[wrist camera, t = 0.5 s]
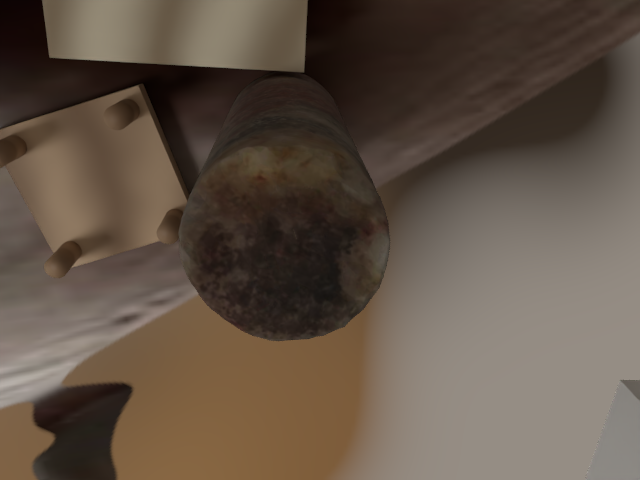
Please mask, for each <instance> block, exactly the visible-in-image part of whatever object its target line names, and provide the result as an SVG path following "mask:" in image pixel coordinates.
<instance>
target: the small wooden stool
mask: <svg viewBox="0 0 640 480" xmlns="http://www.w3.org/2000/svg"><path fill="white" fill-rule="evenodd" d="M42 2H43V10H44V18H45V26H46V34H47V42H48V49H49V57H50V58H64V59H81V60H98V61H116V62H133V63H150V64H167V65H185V66H202V67H219V68H237V69H254V70H271V71H288V72H304V65H305V44H306V24H307V3H308V0H42Z"/></svg>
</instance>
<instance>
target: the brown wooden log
mask: <svg viewBox="0 0 640 480" xmlns="http://www.w3.org/2000/svg"><path fill="white" fill-rule="evenodd" d="M178 234H179V251H180V258H181V261H182V264H183V267H184V269H185V272H186V274H187V276H188V278H189V280H190V282H191V283H192V285H193V286H194V287H195V289H196V290H197V292H198V293H199V295H200V297H201V298H202V299H203V301H204V302H205V303H206V304H207V305H208V306H209V307H210V308H211V309H212V310H213V311H215V312H216V313H217V314H219V315H220V316H221V317H222V318H224V319H225V320H226V321H228V322H230V323H231V324H233V325H234V326H236V327H237V328H239V329H240V330H242V331H244V332H246V333H248V334H250V335H252V336H256V337H260V338H264V339H267V340H271V341H284V340H299V339H310V338H313V337H316V336H324V335H326V334H328V333H330V332H332V331H334V330H337V329H339V328H342V327H345V326H346V324H347V323H348V322H349V321H350V320H351V319H352V318H353V317H355V316H356V315H357V314H359V313H360V312H361V311H362V310H363V309H364V308H365V306H366V305H367V304H368V302H369V301H370V299H371V298H372V297H373V295H374V294H375V293H376V291H377V290H378V289H379V287H380V284H381V281H382V279H383V276H384V272H385V269H386V266H387V261H388V255H389V250H390V237H389V226H388V220H387V217H386V213H385V209H384V206H383V204H382V201H381V198H380V196H379V195H378V193H377V191H376V189H375V186H374V184H373V181H372V179H371V177H370V175H369V173H368V172H367V170H366V167H365V165H364V163H363V161H362V159H361V157H360V155H359V153H358V151H357V149H356V147H355V144H354V142H353V140H352V138H351V136H350V134H349V132H348V130H347V128H346V126H345V123H344V121H343V119H342V116H341V114H340V112H339V109H338V107H337V105H336V103H335V102H334V99H333V98H332V96H331V95H330V94H329V93H328V91H327V90H326V89H325V88H324V87H323V86H322V85H321V84H319V83H318V82H317V81H315V80H314V79H312V78H311V77H309V76H307V75H305V74H301V73H297V72H288V71H282V72H273V73H269V74H267V75H264V76H262V77H260V78H258V79H256V80H254V81H253V82H252V83H250V84H249V85H248V86H247V87H245V88H244V89H243V90H242V91H241V93H240V94H239V95H238V96H237V98H236V100H235V101H234V103H233V105H232V107H231V109H230V111H229V113H228V115H227V117H226V119H225V122H224V124H223V126H222V129H221V131H220V133H219V135H218V138H217V140H216V142H215V144H214V145H213V147H212V150H211V152H210V154H209V156H208V159H207V161H206V163H205V165H204V167H203V169H202V171H201V173H200V175H199V177H198V179H197V181H196V183H195V185H194V187H193V189H192V191H191V193H190V196H189V198H188V201H187V204H186V207H185V210H184V213H183V216H182V218H181V223H180V228H179V233H178Z"/></svg>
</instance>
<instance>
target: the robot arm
mask: <svg viewBox="0 0 640 480" xmlns="http://www.w3.org/2000/svg"><path fill="white" fill-rule="evenodd" d="M586 479H587V480H640V380H620V382H619V385H618V388H617V391H616V393H615V396H614V399H613V402H612V404H611V408H610V410H609V413H608V416H607V419H606V421H605V424H604V427H603V430H602V433H601V436H600V439H599V441H598V444H597V447H596V450H595V453H594V455H593V458H592V461H591V464H590V467H589V470H588V473H587V475H586Z"/></svg>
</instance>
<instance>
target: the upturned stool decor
mask: <svg viewBox="0 0 640 480" xmlns="http://www.w3.org/2000/svg"><path fill="white" fill-rule="evenodd" d="M3 166H6V168H7V170H8V172H9V174H10V175H11V177H12V179H13V181H14V183H15V184H16V186H17V188H18V190H19V192H20V193H21V195H22V197H23V199H24V201H25V202H26V204H27V206H28V208H29V210H30V211H31V213H32V215H33V217H34V219H35V220H36V222H37V224H38V226H39V228H40V229H41V231H42V233H43V235H44V237H45V238H46V240H47V242H48V244H49V246H50V248H51V249H52V251H53V253H54V254H53V255H52V256H51V257H50V258H49V259H48V260H47V261H46V263H45V265H44V269H45V271H46V273H47V274H48V275H49V276H51V277H53V278H61V277H63V276H65V275H66V273H67V272H68V271H69V270H70V268H73V267H76V266H79V265H82V264H86V263H89V262H92V261H96V260H99V259H102V258H105V257H109V256H112V255H115V254H118V253H122V252H125V251H128V250H131V249H135V248H138V247H141V246H145V245H148V244H151V243H154V242H158V241H161V242H163V243H165V244H172V243H175V242H176V241H177V240H178V238H179V234H178V233H179V228H180V223H181V218H182V216H183V213H184V210H185V207H186V204H187V201H188V198H189V196H190V195H189V193H188V190H187V188H186V185H185V183H184V181H183V178H182V176H181V173H180V171H179V169H178V166H177V164H176V161H175V159H174V157H173V154H172V152H171V149H170V147H169V145H168V142H167V140H166V138H165V135H164V133H163V130H162V128H161V126H160V123H159V121H158V118H157V116H156V114H155V111H154V109H153V106H152V104H151V102H150V99H149V97H148V94H147V92H146V90H145V87H144V85H143V83H142V84H139V85H136V86H133V87H130V88H126V89H123V90H120V91H117V92H114V93H111V94H108V95H105V96H101V97H98V98H95V99H92V100H89V101H86V102H83V103H80V104H76V105H73V106H70V107H67V108H64V109H61V110H58V111H55V112H51V113H48V114H45V115H42V116H39V117H36V118H33V119H30V120H26V121H23V122H20V123H17V124H14V125H11V126H8V127H5V128H1V129H0V168H1V167H3Z"/></svg>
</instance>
